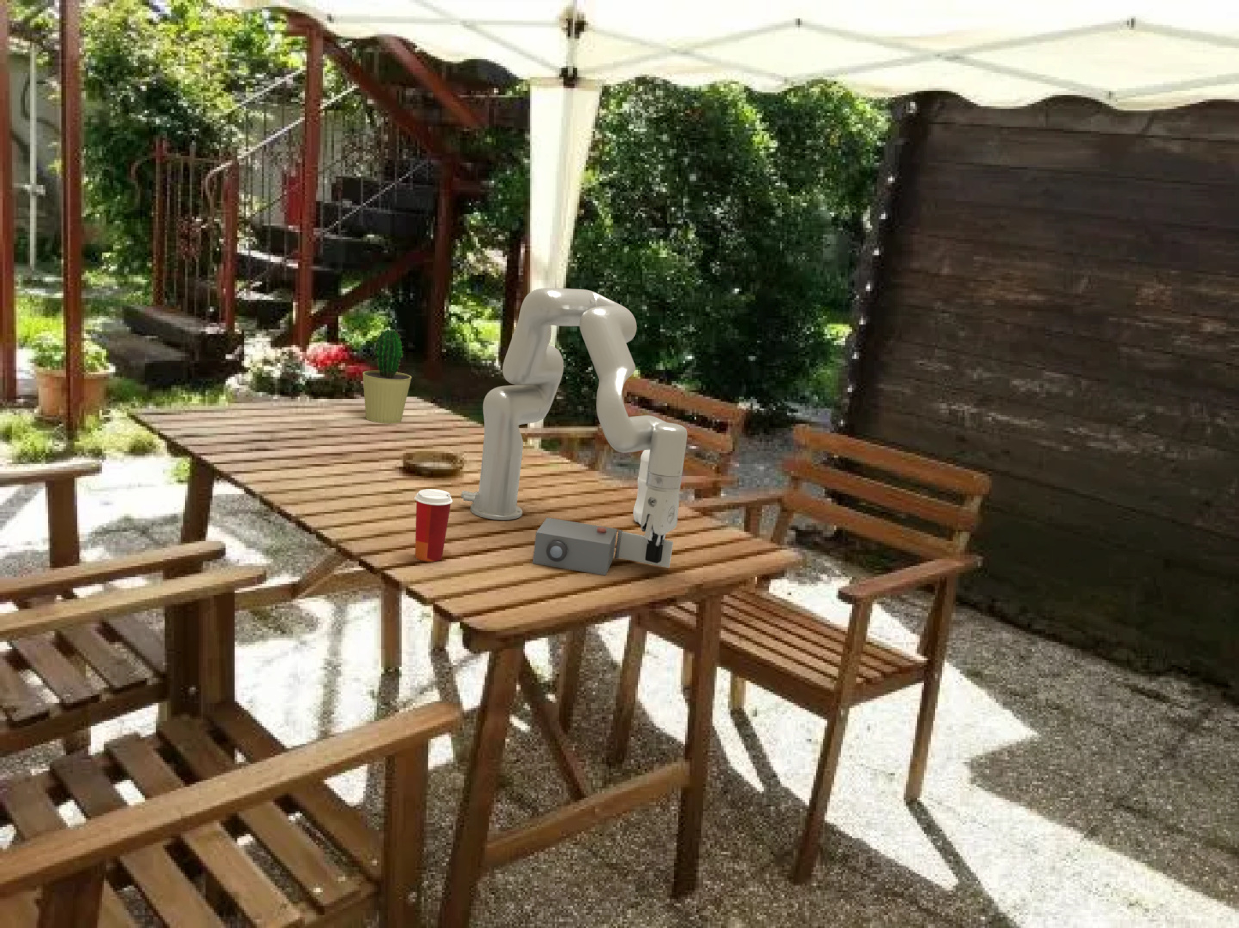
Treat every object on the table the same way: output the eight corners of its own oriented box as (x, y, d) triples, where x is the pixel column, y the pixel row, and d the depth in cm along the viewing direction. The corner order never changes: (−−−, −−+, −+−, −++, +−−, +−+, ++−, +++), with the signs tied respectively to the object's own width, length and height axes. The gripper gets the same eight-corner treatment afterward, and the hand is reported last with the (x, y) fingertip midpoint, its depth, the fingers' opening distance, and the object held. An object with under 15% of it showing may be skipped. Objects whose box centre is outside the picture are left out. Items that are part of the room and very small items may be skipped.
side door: (668, 568, 236) (672, 541, 235) (614, 558, 239) (617, 530, 237) (670, 566, 238) (674, 539, 236) (616, 555, 240) (619, 528, 239)
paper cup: (449, 553, 228) (455, 490, 225) (444, 565, 221) (450, 500, 218) (412, 549, 228) (418, 486, 225) (406, 561, 220) (412, 496, 217)
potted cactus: (417, 422, 349) (425, 331, 342) (384, 426, 336) (391, 332, 330) (383, 412, 357) (390, 323, 350) (349, 416, 344) (355, 324, 337)
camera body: (531, 565, 228) (535, 530, 226) (543, 547, 241) (547, 514, 239) (604, 577, 226) (609, 542, 224) (613, 558, 239) (617, 525, 237)
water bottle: (643, 517, 275) (656, 422, 269) (665, 525, 270) (679, 429, 265) (626, 521, 269) (639, 424, 263) (648, 529, 265) (662, 431, 259)
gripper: (665, 490, 222) (654, 573, 226) (692, 478, 235) (681, 557, 239) (633, 482, 225) (622, 565, 229) (661, 471, 238) (651, 549, 242)
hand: (652, 560), depth 234 cm, fingers closed
